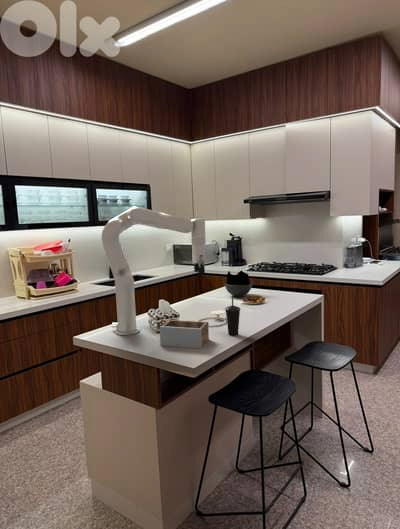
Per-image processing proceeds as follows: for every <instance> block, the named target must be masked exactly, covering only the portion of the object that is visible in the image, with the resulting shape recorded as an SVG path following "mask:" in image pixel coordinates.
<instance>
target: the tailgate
mask: <svg viewBox="0 0 400 529" xmlns="http://www.w3.org/2000/svg"><path fill="white" fill-rule="evenodd" d="M159 343H160V345H159V346H163V347H164V346H166V347H175V348H176V347H179V348H189V349H190V348H191V349H202V348H203V347H202V331H201V328H185V327H169V326H162V325H160V326H159Z"/></svg>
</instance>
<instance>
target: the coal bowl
mask: <svg viewBox="0 0 400 529" xmlns="http://www.w3.org/2000/svg"><path fill="white" fill-rule="evenodd" d="M224 287H225V290H226V291H227V292H228V294H230V295H231V296H233V297H236V298H238V297H239V298H241V297H245V296H246V295H247V294H249V293H250V291H251V289H252V287H253V282H252V281H250V279H249V274H248V273H247V272H245V271H244V270H239V271H238V272H237V273H236V274H235V275H233V274H232V273H231V271H227V274H226V282H224Z"/></svg>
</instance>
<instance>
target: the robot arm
mask: <svg viewBox="0 0 400 529" xmlns="http://www.w3.org/2000/svg"><path fill="white" fill-rule="evenodd" d="M136 224H137V225H141V226H145V227H150V228H156V229H159V230H168V231H174V232H178V233H181V234H189V233H190V234H191V236H190V237H191V246H192V249H191V250H192V251H191V252H192V253H191V254H192V256H191V258H192V259H191V260H192V262H193V272H194V273H198V275H199V276H200V275H205V274H206V272H205V271H206V267H205V262H206V255H205V254H206V253H205V245H206V221H205V219H204V218H193V219H191V218H190V219H189V218H185V217H181V216H176V215H172V214H168V213H164V212H163V211H162V212H161V211H158V210H152V209H148V208H143V207H140V206H132V207H130V208H129V209H127V210H126V211H124V212H122V213H120V214H119V215H117V216H115V217H114V218H112V219H109V221H108V222H107V223H106V224H105V225H104V227H103V229H102V232H101V242H102V247H103V249H104V253H105V255H106V259H107V262H108V263H107V264H108V266H109V268H110V270H111V272H112V276H113V279H114V285H115V286H114V287H115V288H114V289H115V302H116V314H117V315H116V316H117V322H112V323H111V328H113V329H114V328H115V331H114V332H115V334H116V335H120V336H129V335H134V334H137V333H138V332H140V327H138V326H137V314H136V298H135V297H136V296H135V280H134V277H133V274H132V272H131V269H130V265H129V262H128V260H127V257H126V255H125V253H124V252H123V248H122V244H121V242H120V235H121V234H122V233H123V232H124V231H127V230H128V229H129V228H132V227H134V226H135V225H136Z"/></svg>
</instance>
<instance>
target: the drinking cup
mask: <svg viewBox="0 0 400 529" xmlns="http://www.w3.org/2000/svg"><path fill="white" fill-rule="evenodd" d="M224 311H225V317H226V323H227V324H226V326H227V332H228V336H229V335H230V336H229V337H237V336H236V335H238V336H239V327H240V312H241V307H239V306H237V305H234V296H233V295H231V305H229V306H227V307H225V308H224Z"/></svg>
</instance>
